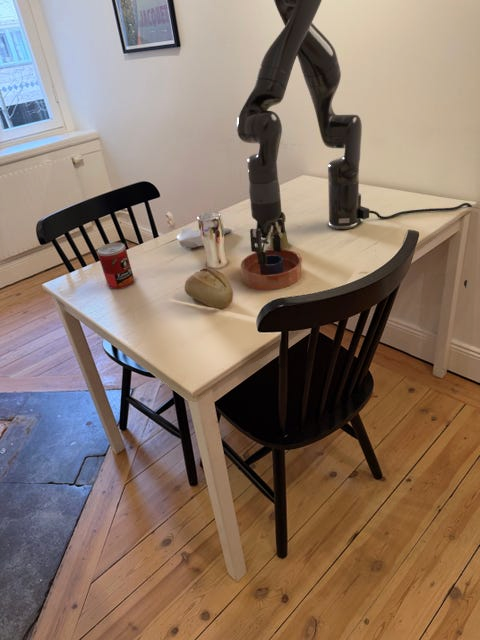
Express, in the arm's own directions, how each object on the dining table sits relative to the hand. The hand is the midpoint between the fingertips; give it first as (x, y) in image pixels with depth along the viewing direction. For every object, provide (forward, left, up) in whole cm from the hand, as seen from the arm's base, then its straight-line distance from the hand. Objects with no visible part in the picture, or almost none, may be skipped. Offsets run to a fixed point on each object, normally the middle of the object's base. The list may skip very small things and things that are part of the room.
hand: (270, 257), depth 124 cm
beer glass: (+8, -18, -6) cm, 21 cm away
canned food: (+35, -27, -6) cm, 45 cm away
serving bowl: (0, 0, -6) cm, 6 cm away
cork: (-12, -15, -6) cm, 20 cm away
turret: (+3, -37, -6) cm, 38 cm away
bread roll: (+19, 0, -6) cm, 20 cm away
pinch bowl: (0, 0, -5) cm, 5 cm away
